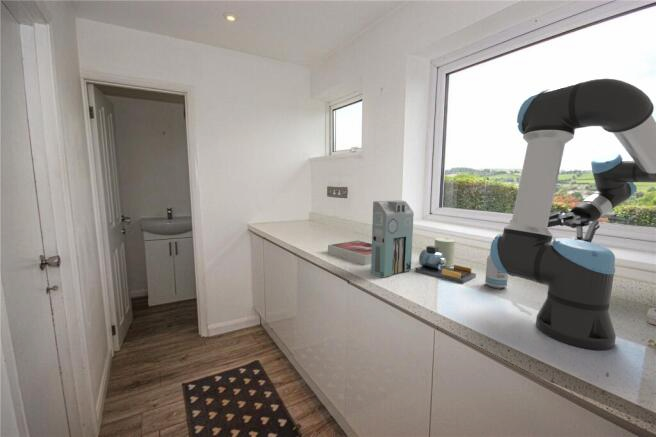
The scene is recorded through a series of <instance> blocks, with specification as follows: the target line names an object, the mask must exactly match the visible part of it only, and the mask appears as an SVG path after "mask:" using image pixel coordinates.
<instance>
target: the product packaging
mask: <svg viewBox="0 0 656 437" xmlns="http://www.w3.org/2000/svg"><path fill="white" fill-rule="evenodd" d="M327 254H330V255H333V256H335V257H339V258H341V259H345V260H348V261H350V262H354V263H357V264H360V265H363V266H368V265H371V257H372V242H366V241H363V240H359V239H357V240H349V241H345V242H337V243H331V244H328V245H327Z"/></svg>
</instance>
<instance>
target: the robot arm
mask: <svg viewBox="0 0 656 437" xmlns="http://www.w3.org/2000/svg"><path fill="white" fill-rule="evenodd" d="M654 109H655V107H654V104H653V101H652V100H651V99H650V96H648V95H647V94H646V93H645V92H644V91H643V90H642V89H640V88H639V87H636V86H635V85H634V84H631V83H629V82H626V81H623V80H620V79H616V78H609V77H596V78H589V79H585V80H582V81H580V82H576V83H572V84H567V85H564V86H560V87H555V88H552V89H545V90H541V91H540V92H537V93H533V94H532V95H529V96H528V97H527V98H526V99H525V100H524V101H523V102H522V104H521V106H520V108H519V110H518V113H517V117H516V124H518V125H517V129H518V131H519V133H520V134H522V135H523V136H522V139H523V140H524V141H525V142H526V143H527V146H526V151H525V155H524V159H523V163H522V164H523V165H522V169H521V173H520V181H519V184H518V188H517V189H518V190H517V194H516V198H515V203H514V208H513V213H512V218H511V222H510V224H507V225H506V226H504V229H503V232H502V233H499V234H497V235H496V236H495V237H494V238H493V240H492V241H491V244H490V248H489V249H490V250H489V255H491V260H492V262H493V263H494V266H495V267H496V268H497V269H498V270H499V271H501V272H504V273H507V274H508V276H511V277H517V278H520V279H524V280H527V281H531V282H534V283H538V284H540V285H545V286H547V295H546V299H545V301H544V303H543V304H542V306H541V308H540V309H539V311H538V312H537V314H536V319H535V326H536V328H537V329H538V330H539V331H541V332H542V333H543V334H545V335H546V336H548V337H550V338H552V339H554V340H557V341H559V342H562V343H565V344H568V345H571V346H575V347H579V348H584V349H589V350H595V351H597V350H599V351H604V350H611V349H613V348H614V347H615V345H616V338H617V337H616V331H615V329H614V325H613V322H612V318H611V316H610V313H609V312H610V310H609V308H610V303H611V296H612V291H613V290H612V289H613V283H614V282H613V281H614V276H615V275H614V274H615V273H616V267H615V266H616V265H615V263H616V256H615V254H614V252H613V251H612V250H610V248H607V247H605V246H603V245H600V244H597V243H594V242H592V241H593V238H594V236H595V234H596V231H597V230H598V229H599V228H600V223H599V219H600V218H602V217H603V216H604V215H606V214H608V213H609V212H610V211H612V210H613V209H614V208H616V207H617V206H619V205H621V204H622V203H624V202H625V201H627V200H629V199H630V198H631V197H632V196H633V195H635V194H636V193H637V184H635V183H656V119H655V118H654V117H653V113H654ZM587 127H601V128H602V129H603V130H604V131H606V132H608V133H612V134H613V135H614V136H615V137H616V139H617V140H618V141H619V143H620V145H621V146H622V147H623V148H624V149H625V151H626V152H627V153H628V155H629V156H630V157H631V158H625V159H623V157H622V155H621V154H620V153H619V152H616V153H615V152H613V151H612V152H610V151H609V152H605V153H602V154H599V155H596V156H595V157H594V158H593V159H592V160H591V162H590V163H591V173H592V176H593V179H594V183H595V187H596V191H595V192H593V194H590V195H589V196H588V197H587V198H585V199H583V200H582V201H581V202H579V203H578V204H576V205H575V206H573V207H572V209H571V210H570V211H569V212H567V213H565V212H563V210H561V209H560V210H557V211H555V212H553V213H551V210H552V208H553V203H554V196H555V192H556V189H557V188H556V187H557V185H558V184H557V183H558V178H559V174H560V170H561V166H562V159H563V156H564V151H565V146H566V144H567V143H568V142H570V141H572V140H573V139H574V136H575V132H576V130H577V129H582V128H587ZM556 226H558V227H559V226H560V227H563V226H566V227H569V228H572V229H575V230H576V236H575V237H574V236H572V237H571V238H568V237H556V238H554V239H553V234H552V233H551V232H550V231H549V229H548V228H551V227H556ZM587 226H588V229H587V230H586V233H585V235H583V234H584V232H583V231H584V229H583V227H587ZM583 236H584V237H583Z"/></svg>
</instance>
